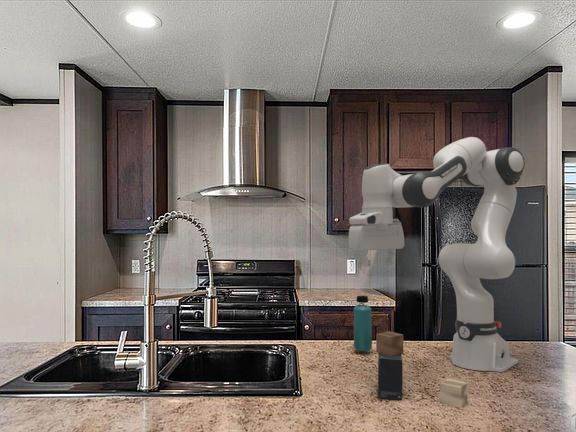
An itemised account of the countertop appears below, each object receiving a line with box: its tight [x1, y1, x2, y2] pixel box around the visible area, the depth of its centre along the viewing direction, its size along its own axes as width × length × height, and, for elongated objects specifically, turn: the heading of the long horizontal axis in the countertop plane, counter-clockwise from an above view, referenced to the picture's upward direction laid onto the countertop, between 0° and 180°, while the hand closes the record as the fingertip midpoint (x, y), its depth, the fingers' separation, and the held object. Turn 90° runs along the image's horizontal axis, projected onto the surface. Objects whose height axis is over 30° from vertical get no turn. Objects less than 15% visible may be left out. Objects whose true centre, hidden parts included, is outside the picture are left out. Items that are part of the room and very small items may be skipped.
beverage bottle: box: [353, 295, 373, 352], centre depth 162 cm, size 6×7×20 cm
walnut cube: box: [375, 331, 404, 357], centre depth 122 cm, size 5×5×5 cm
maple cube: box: [439, 378, 469, 409], centre depth 115 cm, size 5×5×5 cm
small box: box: [377, 353, 404, 401], centre depth 122 cm, size 11×6×10 cm, turn 169°
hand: (378, 265), depth 135 cm, fingers open, 8 cm apart
